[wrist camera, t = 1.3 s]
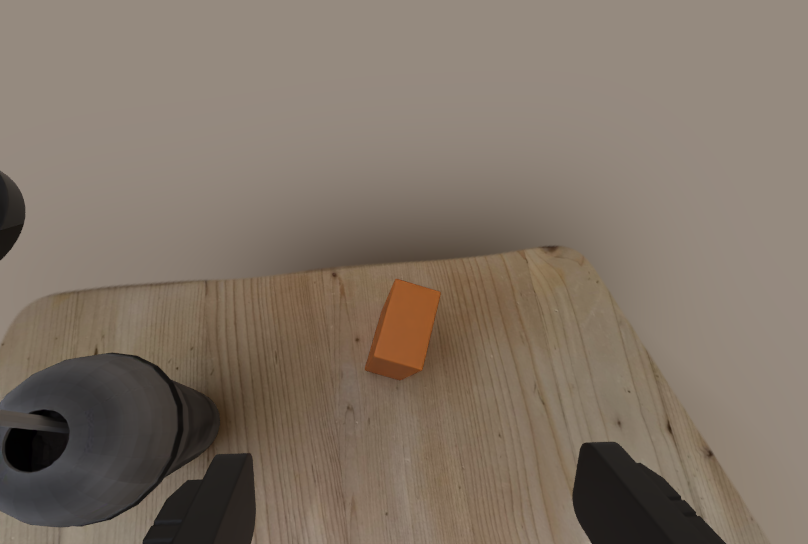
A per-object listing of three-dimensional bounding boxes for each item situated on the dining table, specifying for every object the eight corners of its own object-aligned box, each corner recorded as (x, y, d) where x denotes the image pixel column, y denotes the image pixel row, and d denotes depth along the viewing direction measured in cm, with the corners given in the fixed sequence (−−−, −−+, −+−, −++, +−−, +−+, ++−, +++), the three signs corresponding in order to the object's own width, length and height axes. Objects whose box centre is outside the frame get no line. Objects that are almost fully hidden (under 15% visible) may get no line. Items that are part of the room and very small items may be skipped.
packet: (364, 370, 32) (373, 356, 24) (381, 310, 34) (395, 277, 26) (400, 380, 33) (422, 370, 24) (416, 320, 34) (441, 291, 26)
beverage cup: (140, 500, 28) (-286, 692, 9) (121, 393, 29) (-266, 364, 11) (251, 457, 29) (92, 541, 11) (227, 358, 31) (54, 282, 12)
